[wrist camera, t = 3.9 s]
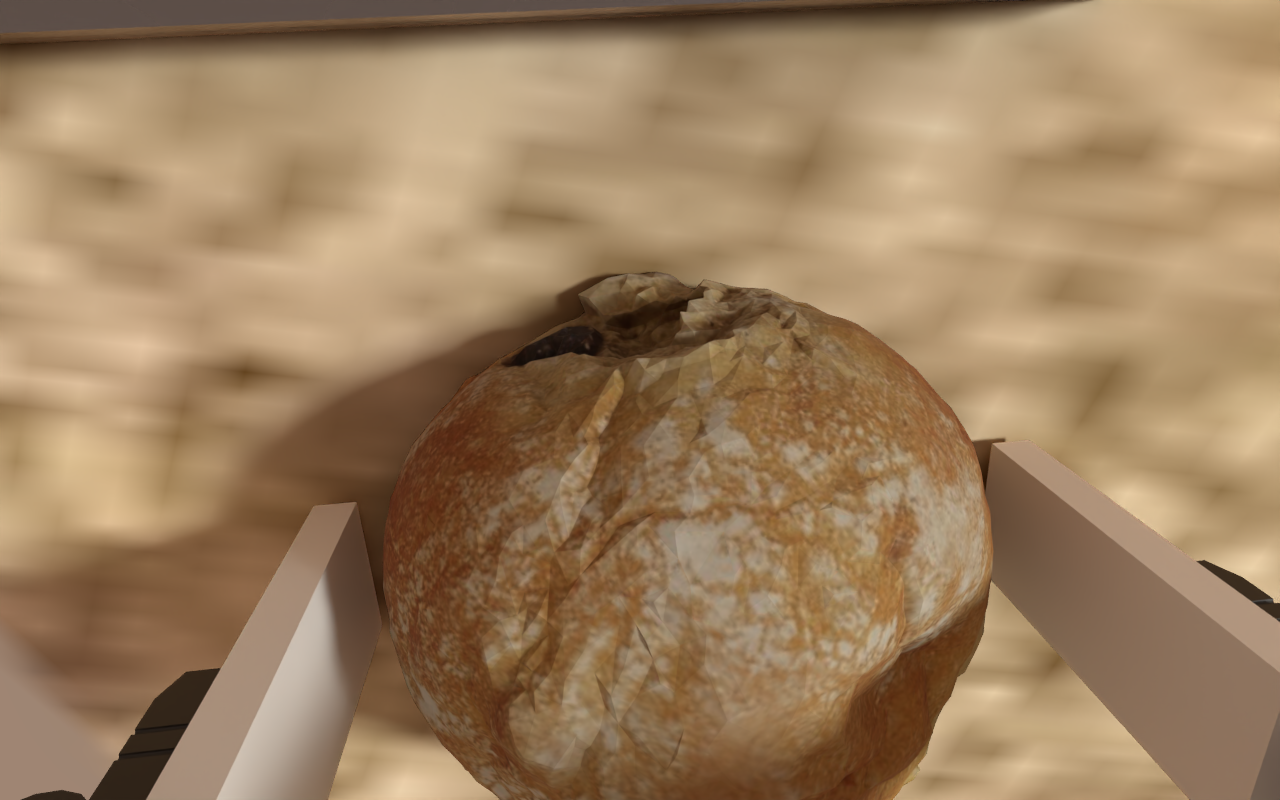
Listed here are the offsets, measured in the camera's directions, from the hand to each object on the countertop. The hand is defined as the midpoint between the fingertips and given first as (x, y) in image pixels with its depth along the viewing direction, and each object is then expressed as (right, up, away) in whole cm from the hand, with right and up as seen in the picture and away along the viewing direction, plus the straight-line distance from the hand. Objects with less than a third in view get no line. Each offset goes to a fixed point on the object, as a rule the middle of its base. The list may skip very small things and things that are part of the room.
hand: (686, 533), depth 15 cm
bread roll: (0, 0, +1) cm, 1 cm away
